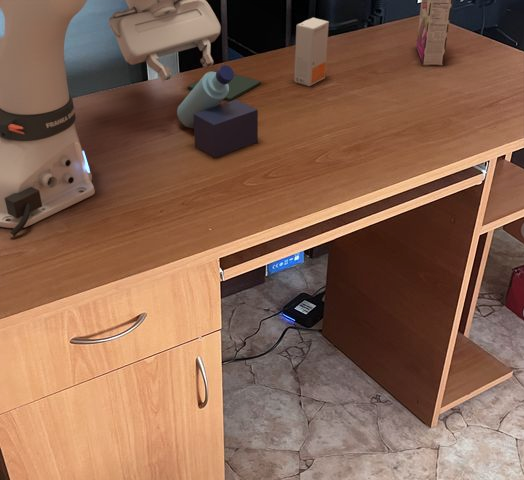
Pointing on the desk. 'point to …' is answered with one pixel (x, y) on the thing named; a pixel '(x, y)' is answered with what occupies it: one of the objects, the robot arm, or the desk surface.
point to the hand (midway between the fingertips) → (188, 72)
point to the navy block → (225, 128)
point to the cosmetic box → (311, 51)
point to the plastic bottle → (205, 94)
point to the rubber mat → (236, 86)
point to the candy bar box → (433, 31)
